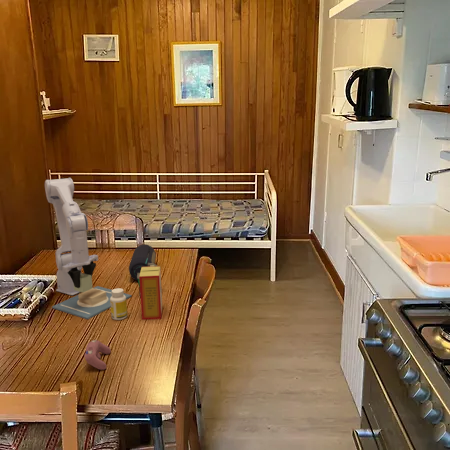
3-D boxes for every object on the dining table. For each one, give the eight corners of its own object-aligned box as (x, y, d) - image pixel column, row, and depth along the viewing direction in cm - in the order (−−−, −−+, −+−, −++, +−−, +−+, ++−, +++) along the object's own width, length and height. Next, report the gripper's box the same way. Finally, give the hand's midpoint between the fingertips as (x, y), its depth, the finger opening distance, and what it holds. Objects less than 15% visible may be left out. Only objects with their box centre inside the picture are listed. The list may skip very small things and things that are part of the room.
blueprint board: (52, 308, 169) (51, 298, 168) (97, 287, 187) (96, 278, 187) (87, 319, 160) (86, 309, 159) (131, 296, 178) (131, 287, 177)
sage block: (74, 290, 168) (72, 275, 167) (83, 285, 172) (82, 271, 170) (82, 292, 166) (81, 277, 164) (92, 288, 169) (91, 273, 168)
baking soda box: (161, 318, 160) (159, 274, 156) (141, 319, 160) (139, 275, 156) (162, 306, 169) (160, 265, 165) (144, 307, 169) (141, 265, 165)
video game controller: (99, 357, 140) (86, 339, 138) (112, 350, 139) (100, 332, 138) (93, 376, 130) (79, 357, 128) (107, 369, 130) (93, 349, 128)
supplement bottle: (130, 314, 164) (128, 288, 161) (122, 321, 159) (120, 294, 156) (116, 312, 165) (114, 286, 163) (108, 319, 160) (106, 292, 158)
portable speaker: (153, 283, 192) (152, 259, 189) (128, 284, 191) (126, 260, 188) (156, 262, 216) (155, 241, 213) (134, 263, 215) (133, 242, 212)
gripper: (70, 256, 157) (74, 294, 160) (102, 245, 169) (105, 280, 172) (56, 253, 160) (60, 290, 164) (89, 242, 172) (92, 276, 176)
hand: (82, 284), depth 168 cm, fingers closed on sage block, 4 cm apart
